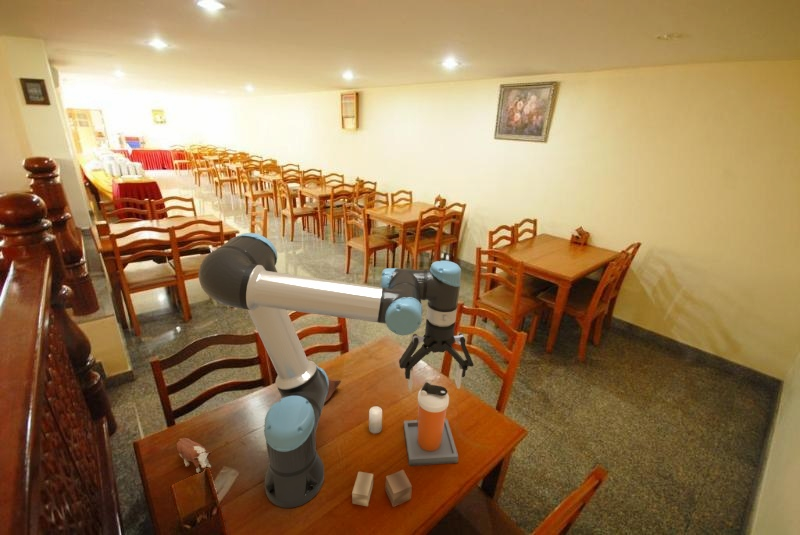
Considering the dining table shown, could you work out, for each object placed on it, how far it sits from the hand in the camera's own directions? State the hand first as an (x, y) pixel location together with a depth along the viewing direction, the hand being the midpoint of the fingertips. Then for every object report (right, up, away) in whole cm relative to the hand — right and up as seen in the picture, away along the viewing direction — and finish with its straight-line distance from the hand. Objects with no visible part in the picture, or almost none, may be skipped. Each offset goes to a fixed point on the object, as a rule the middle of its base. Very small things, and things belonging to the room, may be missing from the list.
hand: (433, 386), depth 98 cm
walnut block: (-10, -26, -7) cm, 29 cm away
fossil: (-37, -12, +25) cm, 46 cm away
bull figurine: (-65, -22, -2) cm, 69 cm away
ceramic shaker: (-17, -18, +13) cm, 28 cm away
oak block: (-19, -26, -7) cm, 33 cm away
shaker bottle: (-1, -19, +8) cm, 21 cm away
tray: (-1, -20, +8) cm, 22 cm away
